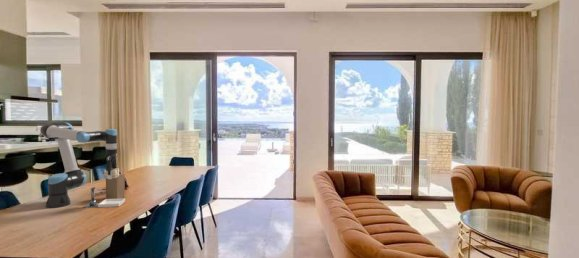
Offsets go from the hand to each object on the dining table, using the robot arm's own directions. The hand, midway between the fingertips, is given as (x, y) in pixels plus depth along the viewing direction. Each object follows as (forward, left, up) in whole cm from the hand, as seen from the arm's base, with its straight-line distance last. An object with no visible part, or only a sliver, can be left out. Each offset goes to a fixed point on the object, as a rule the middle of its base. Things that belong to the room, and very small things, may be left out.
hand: (111, 177), depth 238 cm
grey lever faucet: (-13, -2, -21) cm, 24 cm away
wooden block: (-3, +17, -21) cm, 27 cm away
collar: (0, 0, +1) cm, 1 cm away
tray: (0, 0, -21) cm, 21 cm away
